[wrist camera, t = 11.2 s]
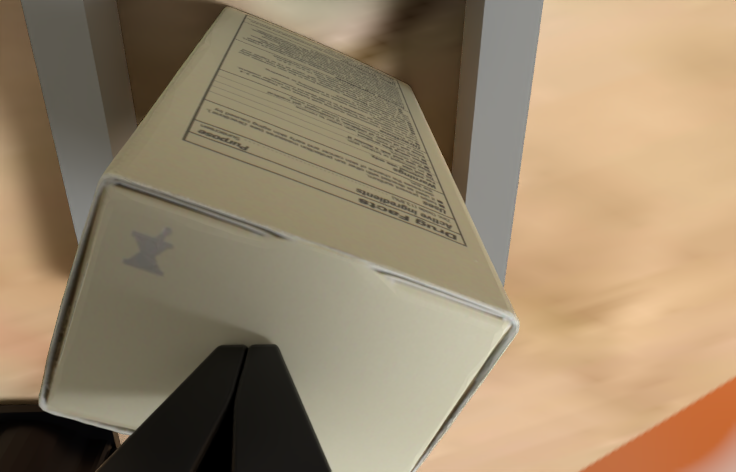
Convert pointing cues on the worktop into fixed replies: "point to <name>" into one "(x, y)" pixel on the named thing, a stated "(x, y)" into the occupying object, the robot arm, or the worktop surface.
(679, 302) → the worktop surface
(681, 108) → the worktop surface
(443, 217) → the skincare box
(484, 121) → the holder
